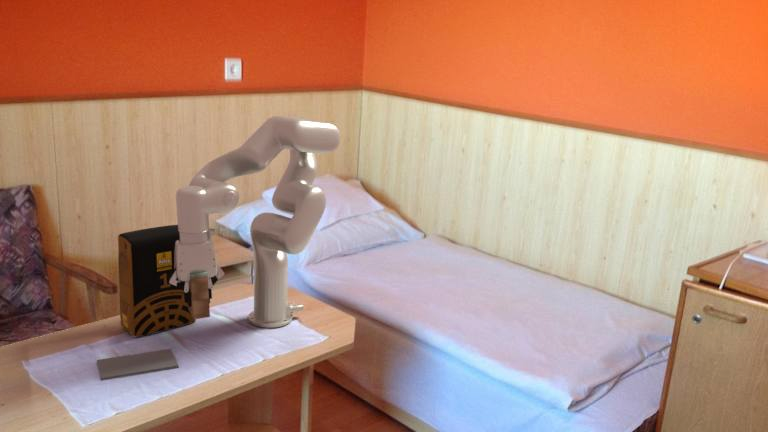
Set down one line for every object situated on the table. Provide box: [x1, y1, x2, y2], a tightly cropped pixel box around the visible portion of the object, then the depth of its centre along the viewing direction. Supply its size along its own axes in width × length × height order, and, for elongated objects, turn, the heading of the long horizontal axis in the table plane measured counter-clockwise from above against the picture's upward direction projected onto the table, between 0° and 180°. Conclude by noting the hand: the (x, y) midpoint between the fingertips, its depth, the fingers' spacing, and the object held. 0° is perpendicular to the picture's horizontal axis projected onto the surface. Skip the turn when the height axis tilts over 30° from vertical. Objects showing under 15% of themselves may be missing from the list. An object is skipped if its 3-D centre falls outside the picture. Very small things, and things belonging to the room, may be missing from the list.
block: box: [188, 271, 211, 320], centre depth 186 cm, size 4×7×12 cm, turn 26°
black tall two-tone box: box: [117, 224, 197, 338], centre depth 199 cm, size 11×19×28 cm, turn 130°
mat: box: [96, 347, 180, 381], centre depth 180 cm, size 18×10×1 cm, turn 116°
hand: (198, 302), depth 187 cm, fingers closed on block, 4 cm apart
